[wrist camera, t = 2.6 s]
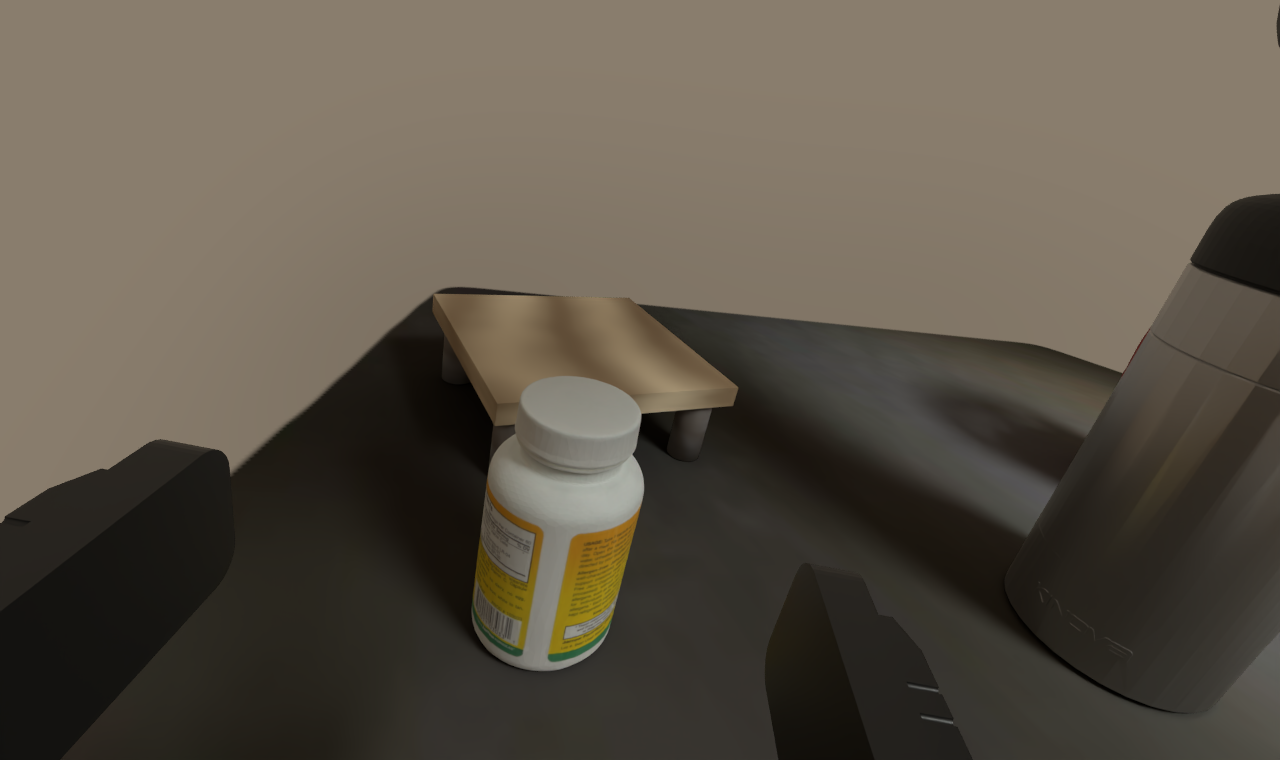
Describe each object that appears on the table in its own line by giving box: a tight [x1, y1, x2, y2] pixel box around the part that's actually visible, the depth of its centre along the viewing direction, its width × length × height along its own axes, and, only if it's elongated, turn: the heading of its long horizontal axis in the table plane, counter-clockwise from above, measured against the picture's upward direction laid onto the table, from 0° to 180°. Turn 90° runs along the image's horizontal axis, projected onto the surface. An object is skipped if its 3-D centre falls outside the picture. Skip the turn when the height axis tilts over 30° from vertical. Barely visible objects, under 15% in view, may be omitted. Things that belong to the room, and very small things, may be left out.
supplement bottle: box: [472, 376, 644, 671], centre depth 23 cm, size 6×6×10 cm
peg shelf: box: [433, 294, 738, 471], centre depth 39 cm, size 14×14×5 cm
